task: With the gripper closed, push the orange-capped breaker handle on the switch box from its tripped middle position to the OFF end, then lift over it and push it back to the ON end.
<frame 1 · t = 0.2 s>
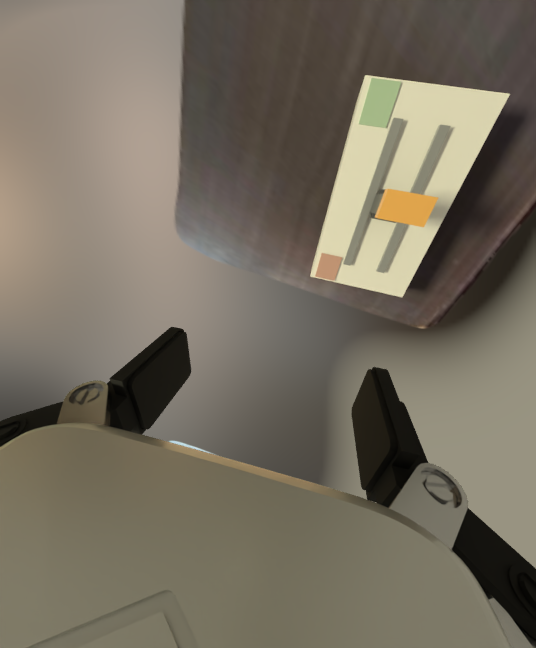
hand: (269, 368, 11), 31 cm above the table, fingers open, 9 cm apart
switch box: (378, 205, 32), on the table
breaker handle: (395, 207, 25), point 9 cm above the table, slide at 0.0 cm
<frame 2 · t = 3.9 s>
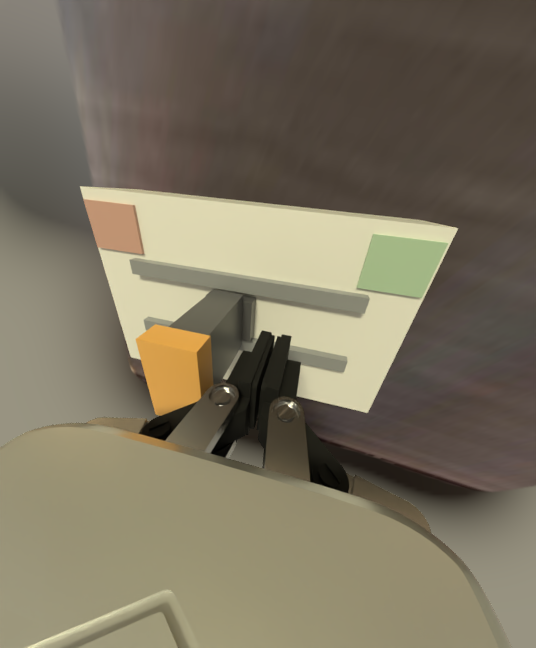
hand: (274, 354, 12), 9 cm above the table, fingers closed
switch box: (258, 289, 20), on the table
breaker handle: (211, 341, 13), point 9 cm above the table, slide at 0.6 cm, touching gripper
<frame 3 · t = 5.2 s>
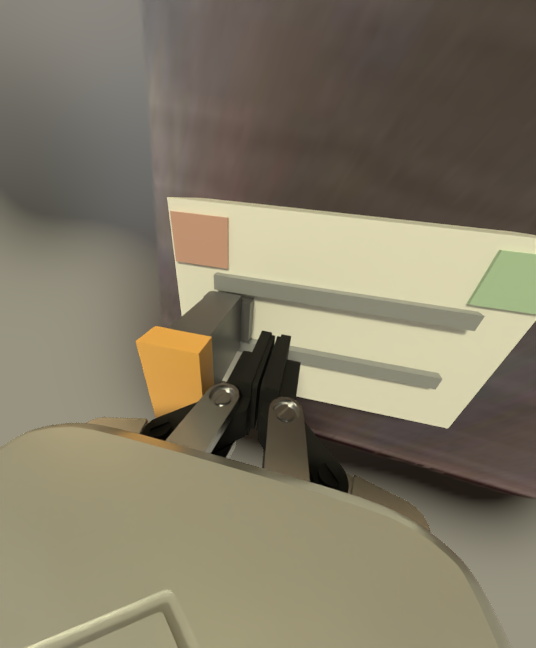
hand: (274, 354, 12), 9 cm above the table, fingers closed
switch box: (325, 301, 19), on the table
breaker handle: (210, 342, 13), point 9 cm above the table, slide at 7.0 cm, touching gripper
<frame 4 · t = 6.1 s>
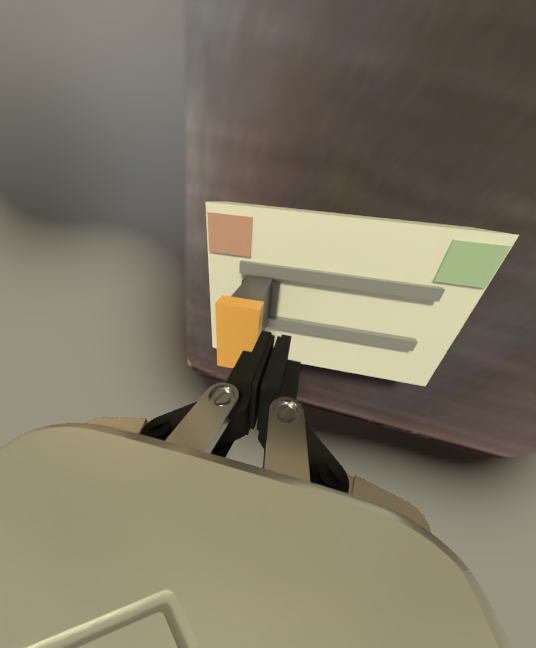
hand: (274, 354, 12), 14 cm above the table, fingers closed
switch box: (325, 286, 24), on the table
breaker handle: (251, 313, 17), point 9 cm above the table, slide at 6.0 cm
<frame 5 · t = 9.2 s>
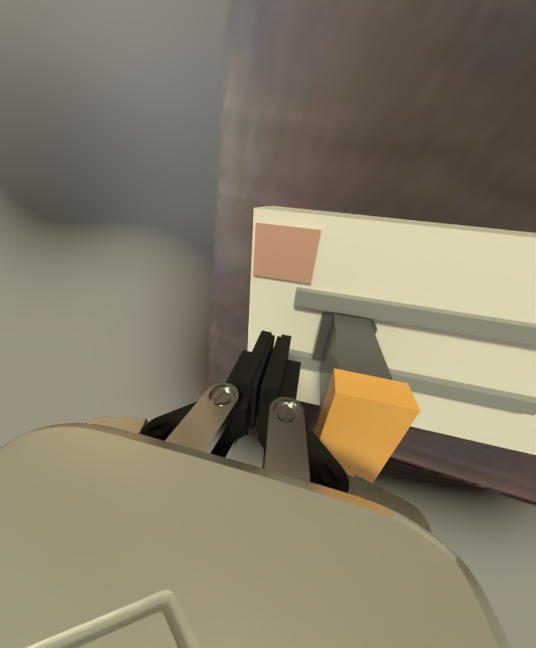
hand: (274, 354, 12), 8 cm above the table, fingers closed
switch box: (393, 314, 18), on the table
breaker handle: (346, 374, 11), point 9 cm above the table, slide at 4.6 cm, touching gripper
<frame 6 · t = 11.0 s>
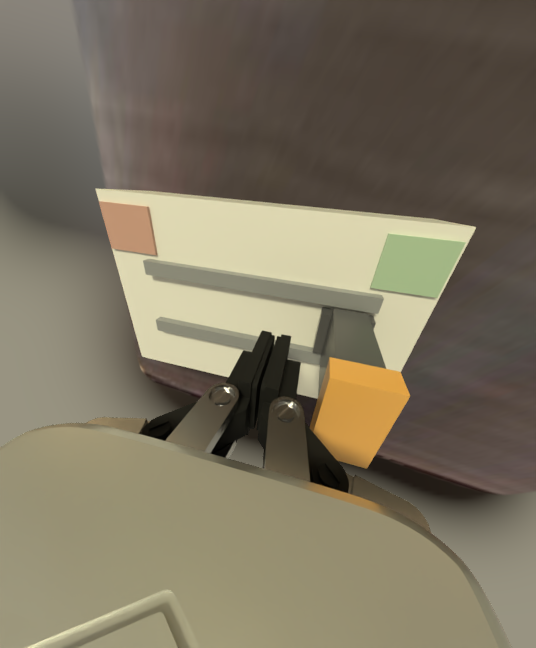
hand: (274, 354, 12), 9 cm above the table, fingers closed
switch box: (268, 289, 20), on the table
breaker handle: (344, 366, 12), point 9 cm above the table, slide at -6.3 cm, touching gripper
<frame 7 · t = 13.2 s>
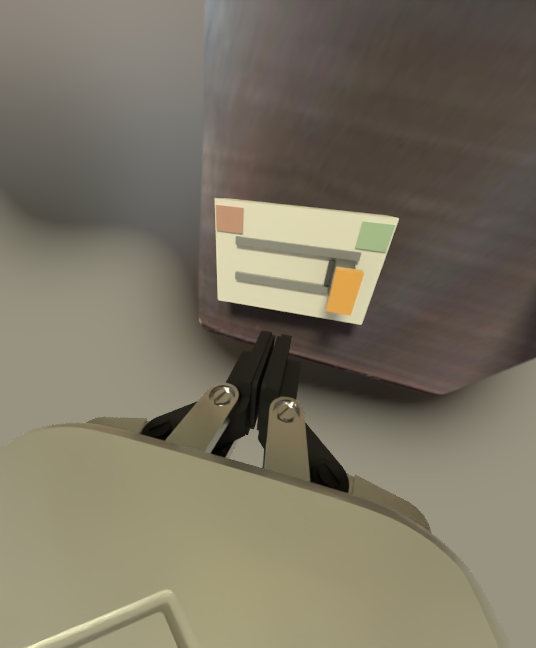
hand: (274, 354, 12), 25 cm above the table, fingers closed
switch box: (296, 257, 34), on the table
breaker handle: (341, 281, 26), point 9 cm above the table, slide at -6.0 cm
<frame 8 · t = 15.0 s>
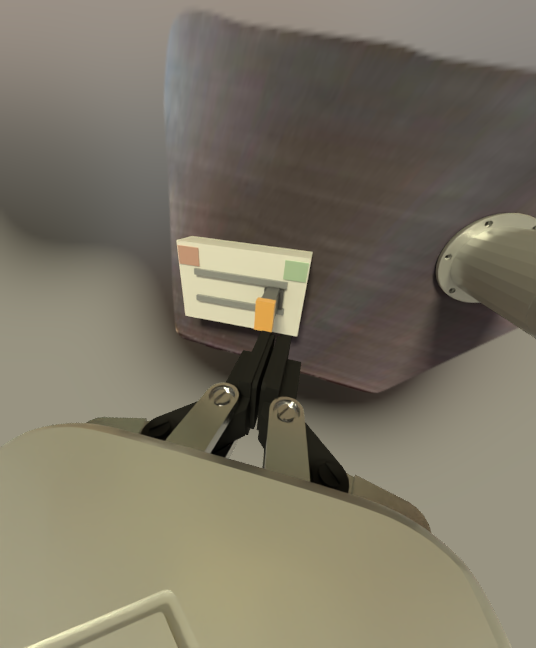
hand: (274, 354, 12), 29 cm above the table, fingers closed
switch box: (248, 281, 42), on the table
breaker handle: (269, 306, 34), point 9 cm above the table, slide at -6.0 cm
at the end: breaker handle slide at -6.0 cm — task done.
